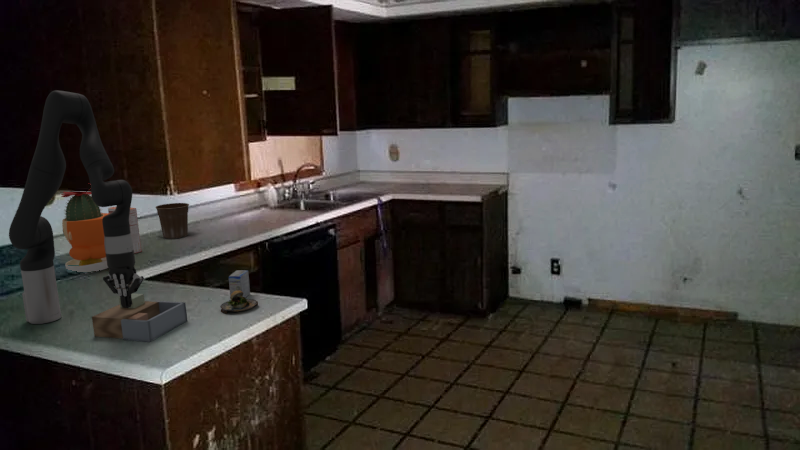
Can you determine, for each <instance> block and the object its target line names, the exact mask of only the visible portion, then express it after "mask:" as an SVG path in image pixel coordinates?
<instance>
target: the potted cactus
mask: <svg viewBox="0 0 800 450" xmlns="http://www.w3.org/2000/svg"><path fill="white" fill-rule="evenodd" d="M60 196H61V197H60V198H69V199H66V200H67V202H65V205H66V206H65V209H64V210H63V214H64V215H65V216H63V217H64V218H63V219H62V222H61V223H62V226H61V227H62V234H63V235H64V237H65V239H66V240H67V242H68V243H69V244H70V245H71V248H70V249H69V251H68V254H69V256H70V257H71V258H72V259H71V260H68V261H67V262H65V264H64V265H65V270H66V269H68V270H72V271H77V272H91V271H96V272H99V270H100V271H103V270H106V269H109V267H108V266H107V260H106V252H105V245H104V230H103V223H102V219H103V217H104V216H106V215H108V214H110V213H109V212H108V213H107V212H102V211H103V209H102V207H100V206H98V205H96V204H95V203H94V201H93V199H92V195H91V192H87V191H86V192H65V191H62V193H61V194H60ZM68 265H79V266H68ZM91 273H92V272H91Z"/></svg>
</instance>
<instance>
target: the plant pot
mask: <svg viewBox="0 0 800 450" xmlns="http://www.w3.org/2000/svg"><path fill="white" fill-rule="evenodd" d="M189 206H190V204H189V203H186V202H174V203H173V202H171V203H164V204H159V205H157V206H155V209H156V212H157V215H158V218H159V222H160V227H161V232H162V237H163V239H168V240H170V239H171V240H172V239H174V240H176V239H180V238H185V237H187V236H189V229H188V227H189V226H188V225H189V221H188V220H189V219H188V218H189V217H188V216H189V215H188V213H189Z"/></svg>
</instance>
